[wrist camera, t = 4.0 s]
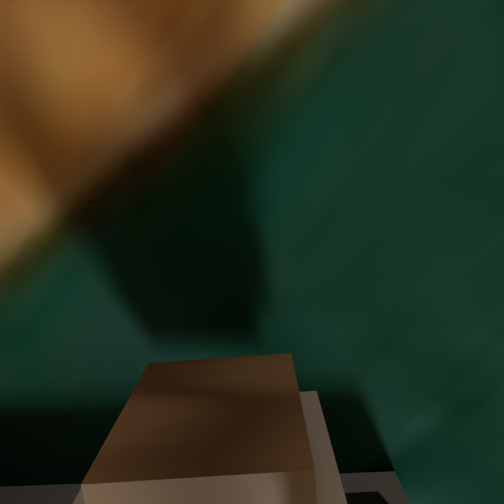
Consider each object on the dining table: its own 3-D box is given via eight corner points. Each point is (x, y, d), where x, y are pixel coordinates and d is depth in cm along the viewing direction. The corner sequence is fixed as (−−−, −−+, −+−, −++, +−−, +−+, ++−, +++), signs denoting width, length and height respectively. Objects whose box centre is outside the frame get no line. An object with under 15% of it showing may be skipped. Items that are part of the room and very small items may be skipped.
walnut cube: (167, 482, 14) (118, 656, 9) (148, 363, 13) (80, 484, 8) (298, 474, 13) (324, 645, 9) (291, 353, 12) (314, 470, 8)
